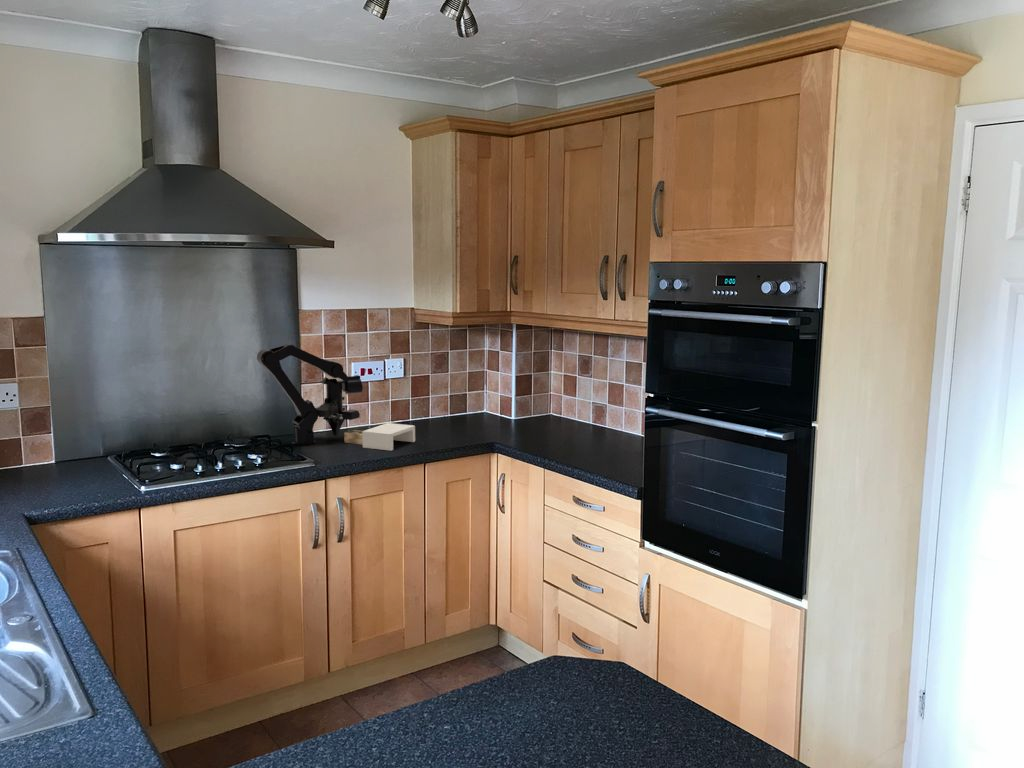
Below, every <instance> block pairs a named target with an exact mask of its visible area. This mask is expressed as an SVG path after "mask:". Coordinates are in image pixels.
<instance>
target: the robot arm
mask: <svg viewBox="0 0 1024 768" xmlns="http://www.w3.org/2000/svg"><path fill="white" fill-rule="evenodd" d="M290 356H291V357H293V358H296V359H298V360H300V361H302V362H305V363H307V364H308V365H311V366H313V367H315V368H317V369H318V370H320V371H321V372H322V373H323V374H325V375H327V376H328V377H331V378H328V377H327V376H325V377H324V378H323V379H322V380H321V381H320V384H322V385H326V397H325V398H324V402H323V403H322V404H321V405H319V406H317V407H315V406H314V403H313V401H311V400H309V399H304V397H303V396H302V395H301V394H300V393H299V391H298V390H297V388H296V387H295V385H294V383H293V382H292V381H291V380H290V379H289V376H288V375H287V374H286V372H285V371H284V370H283V368H282V365H281V361H282V360H284V359H286V358H288V357H290ZM256 360H257V362H258V363H259V364H260V365H261V366H262V367H263V368H264V369H265V370H266V371H268V373H269V374H271V375H272V377H273V378H274V379H275V380H276V382H277V384H278V385H279V386H280V387H281V389H282V390H283V392H284V393H285V395H286V396H287V397H288V399H289V400H290V401H291V402H292V404H293V407H294V410H295V412H296V416H295V417H293V419H292V424H293V426H294V427H293V438H294V439H293V442H291V445H298V446H299V445H300V446H303V447H304V446H305V447H306V446H309V445H311V444H315V443H316V440H315V435H314V434H315V433H314V432H315V431H314V425H315V423H317V421H318V420H319V418H322V420H325V421H326V422H327V423H328V424H329V427H330V429H331V432H332V435H333V437H337V436H338V435H339V433H340V430H341V427H342V425H343V423H344V422H345V420H348V421H352V420H356V419H359V418H360V417H361V415H360V411H359V410H358V409H348V410H347V409H346V408H345V407H343V406H344V405H343V401H344V400H345V396H343V392H344V393H345V394H346V395H352V394H362V392H363V388H364V384H363V382H362V379H361V376H360V375H358V374H356V375H350V376H348V375H347V374H346V373H345V371H344V367H343V365H342V364H341V363H339V362H337V361H332V360H329V359H325V358H322V357H319V356H317V355H314V354H312V353H311V352H310V353H309V352H308V351H305V350H303V349H301V348H299V347H296V346H295V345H294V344H291V343H284V344H283V345H280V346H276V347H273V348H270V349H267V348H265V349H264V348H263V349H262V350H261V349H260V350H259V351H258V353H257V355H256ZM337 379H339V380H337Z"/></svg>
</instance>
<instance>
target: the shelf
mask: <svg viewBox="0 0 1024 768" xmlns="http://www.w3.org/2000/svg"><path fill="white" fill-rule="evenodd" d="M361 431H362V439H363V445H362V448H363V449H373V450H382V451H383V450H384V451H390V452H391V451H394V441H399V442H407V443H408V442H409V443H415V442H416V426H415V425H413V424H402V423H390V422H387V423H383V424H381V425H377V426H374V427H371V428H368V429H365V430H361Z"/></svg>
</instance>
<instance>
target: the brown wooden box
mask: <svg viewBox="0 0 1024 768" xmlns="http://www.w3.org/2000/svg"><path fill="white" fill-rule="evenodd" d="M362 431H363V430H357V429H353V430H348V431H345V432H344V435H343V436H344V439H343V441H344V443H345V444H346V443H347V444H355V445H362V446H363V439H362Z"/></svg>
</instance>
